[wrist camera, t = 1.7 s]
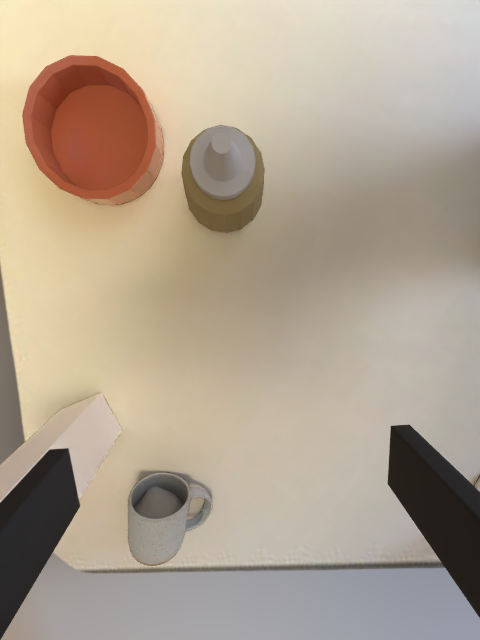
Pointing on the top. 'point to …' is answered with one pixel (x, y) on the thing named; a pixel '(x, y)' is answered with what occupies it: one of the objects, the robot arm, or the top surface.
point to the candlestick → (477, 484)
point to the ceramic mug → (162, 516)
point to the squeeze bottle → (223, 178)
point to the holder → (93, 130)
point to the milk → (67, 443)
